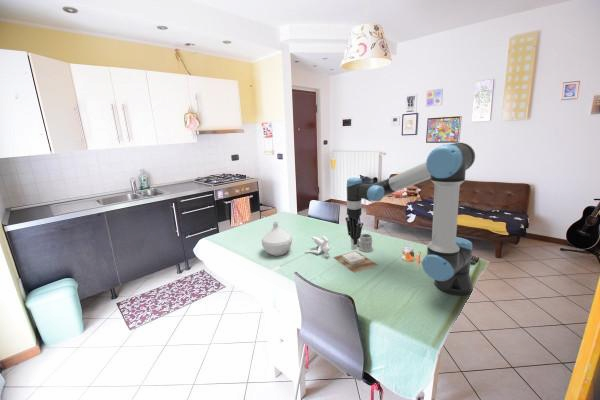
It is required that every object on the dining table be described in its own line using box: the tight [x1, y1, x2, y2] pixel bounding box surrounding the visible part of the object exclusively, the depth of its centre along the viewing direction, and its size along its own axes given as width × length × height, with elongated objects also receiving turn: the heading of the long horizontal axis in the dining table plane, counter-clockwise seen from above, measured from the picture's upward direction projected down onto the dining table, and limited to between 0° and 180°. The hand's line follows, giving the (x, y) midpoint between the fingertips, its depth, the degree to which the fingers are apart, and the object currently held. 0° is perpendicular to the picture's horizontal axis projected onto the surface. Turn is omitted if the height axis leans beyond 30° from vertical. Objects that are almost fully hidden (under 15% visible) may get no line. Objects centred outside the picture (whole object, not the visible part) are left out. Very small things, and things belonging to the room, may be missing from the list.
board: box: [332, 250, 379, 274], centre depth 152 cm, size 20×16×1 cm
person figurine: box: [304, 235, 331, 258], centre depth 165 cm, size 13×13×18 cm
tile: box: [341, 251, 365, 265], centre depth 153 cm, size 2×9×9 cm
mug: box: [357, 233, 373, 253], centre depth 166 cm, size 8×12×12 cm, turn 35°
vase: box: [261, 221, 293, 257], centre depth 168 cm, size 18×18×19 cm
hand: (354, 249), depth 151 cm, fingers closed
